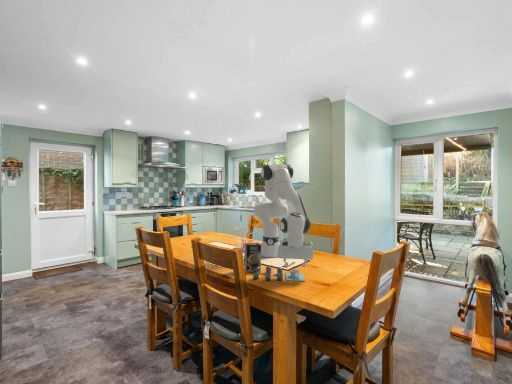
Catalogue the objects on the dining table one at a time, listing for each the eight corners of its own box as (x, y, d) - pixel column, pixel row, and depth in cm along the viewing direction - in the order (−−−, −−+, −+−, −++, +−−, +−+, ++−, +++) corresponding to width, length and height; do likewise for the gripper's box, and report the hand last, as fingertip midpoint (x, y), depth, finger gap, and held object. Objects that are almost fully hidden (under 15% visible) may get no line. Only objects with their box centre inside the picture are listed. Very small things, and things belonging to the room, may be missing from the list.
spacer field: (255, 271, 157) (255, 265, 157) (282, 272, 155) (282, 266, 155) (252, 280, 142) (252, 274, 142) (282, 281, 140) (282, 275, 140)
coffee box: (246, 272, 155) (246, 245, 155) (243, 269, 161) (244, 243, 161) (261, 271, 157) (261, 244, 157) (258, 268, 164) (258, 242, 163)
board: (285, 273, 154) (285, 272, 154) (302, 274, 153) (302, 273, 153) (286, 280, 142) (286, 279, 142) (305, 281, 141) (305, 280, 141)
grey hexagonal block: (290, 274, 150) (290, 269, 150) (298, 274, 150) (299, 269, 150) (290, 277, 145) (290, 272, 145) (299, 278, 144) (299, 272, 144)
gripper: (313, 241, 150) (312, 265, 150) (277, 240, 151) (277, 263, 152) (315, 243, 143) (314, 268, 144) (277, 242, 145) (277, 267, 145)
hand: (294, 266), depth 148 cm, fingers open, 8 cm apart
